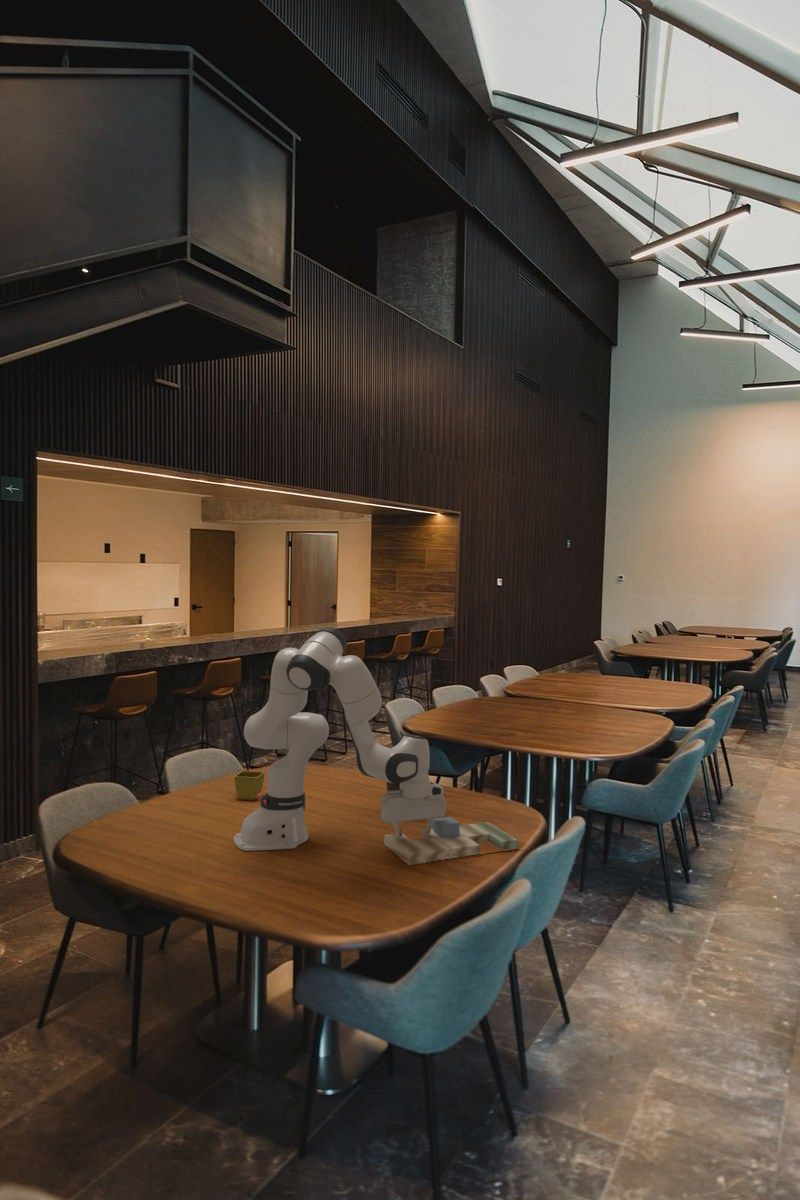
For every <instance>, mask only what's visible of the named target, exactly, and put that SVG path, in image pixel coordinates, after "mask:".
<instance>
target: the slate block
mask: <svg viewBox="0 0 800 1200" xmlns="http://www.w3.org/2000/svg"><path fill="white" fill-rule="evenodd" d="M460 825H461V823H460V822H459V821H458V820H456V819H454V818H453V817H452V816H448V817H447V816H446V817H439V818H435V822H434V823H433V825H432V827H433V828H432V829H433V832H434V833H435V834H437V835H438V836H440V837H441V838H446V837H453V836H459V832H460Z"/></svg>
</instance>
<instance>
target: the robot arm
mask: <svg viewBox="0 0 800 1200" xmlns="http://www.w3.org/2000/svg"><path fill="white" fill-rule="evenodd" d="M347 646H348V645H347V640H346V638H345V635H344V634H343V633H342V632H341V631H340V630H339V629H337V628H335V627H329V626H327V627H326V626H325V627H323V628H320V629H319V630H316V631H315V632H314V633H313V634H312V635H311V637H309V638H308V639H307V640H305V642H303V644H302V645H301V646H300V648H296V647H285V648H283V649H280V650H279V651H278V652H277V653H276V655H275V657H274V661H273V663H272V668H271V674H270V685H269V686H270V687H269V696H268V700H267V702H266V703H265V705H264V706H263V708H261V709H260V710H259V711H258V712H256V713H254V714H252V715H250V716H249V718H247V720H246V721H245V724H244V727H243V736H244V737H243V738H244V739H245V741H246V743H247V744H248V746H250V747H252V748H255V749H261V750H288V751H287V754H285V756H284V757H282V758H280V759H278V760H276V761H274V762H273V763H272V764H271V765H270V766H269V767H268V770H267V792H266V793H265V794H263V793H262V792H260V793H259V794H258V795H257V798H256V799H257V800H258V801H259V802H260V806H259V807H258V808H257V809H255V810H254V811H253V812H251V813H250V814H249V815H247V816H246V817H245V818H244V819H243V823H242V824H241V831H240V832H239V833H235V835H234V837H233V844H234V845H235V846H236V847H237V848H238V849H239V850H242V851H245V852H251V851H252V852H253V851H255V852H257V851H270V850H273V851H274V850H289V849H296V848H297V847H299V845H301V844H303V843H305V842H306V841H308V839H309V835H308V831H307V827H306V820H305V819H306V818H305V811H306V810H305V808H306V793H305V791H304V789H305V788H304V787H305V774H306V769H307V765H308V762H309V760H310V758H311V757H312V755H313V754H314V753H315V752H316V751H317V750H318V749H319V748H321V746H323V745H324V744H325V743H326V741H327V739H328V738H329V735H330V734H329V732H330V728H329V723H328V721H327V719H326V718H325V716H324V715H323V714H320V713H313V712H302V711H303V710H304V708H305V706H306V704H308V703H307V702H308V694H309V693H308V692H309V691H314V690H322V691H323V690H325V689H326V688H328V686H329V685H330V686H332V688H334V690H335V692H336V693H337V697H338V698H339V701H340V703H341V705H342V708H343V710H344V719H345V722H346V726H347V728H348V731H349V735H350V737H351V741H352V742H353V744H354V745H353V746H354V749H355V753H356V754H355V755H356V764H357V767H358V770H359V772H360V773H361V774H362V775H363V776H366V777H369V778H374V779H377V780H381V781H384V782H386V783H387V782H389V783H394V784H399V783H400V790H395V791H387V790H386V792H385V793H383V795H382V797H381V809H380V810H381V811H380V819H381V820H382V821H383V822H384V823H386V824H391V825H392V826H393V828H394V830H395V833H396V836H397V837H399V836H402V834H403V830H402V829H401V828H399V826H400V823H403V822H412V821H420V820H427V821H428V822H427V824H426V825H424V827H423V830H424V832H425V833H431V829H432V827H433V823H434V822H435V819H437V818H445V815H446V813H447V802H446V797H445V796H444V793H445V788H444V787H442V786H441V785H440V784H438V783H436V782H433V781H430V776H429V771H428V768H429V766H430V761H431V760H430V759H431V758H430V755H431V754H430V744H429V741H428V739H427V738H425V737H423V736H420V735H415V734H409V733H408V734H404V735H403V736H402V738H401V739H400V741H399V742H398V743H397V744H396V745H394V746H393V747H388V746H384V745H383V744H381V743H379V742H378V741H376V739H375V738H374V737H375V736H374V734H373V731H372V728H371V726H370V723H369V721H370V720H371V719H373V718H374V717H375V716H376V715H377V714H378V713H379V712H380V710H381V708H382V705H383V699H382V697H381V692H380V690H379V687H378V685H377V683H376V680H375V679H374V677H373V675H372V673H371V672H370V670H369V668H368V667H367V666H366V664H365V663H364V661H363V660H362V659H361V658H360V657H359V656H357V655H352V654H351V655H350V654H349V655H345V654H346V651H347Z"/></svg>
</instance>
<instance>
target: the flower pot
mask: <svg viewBox="0 0 800 1200" xmlns="http://www.w3.org/2000/svg"><path fill="white" fill-rule="evenodd" d="M264 781H265V772H264V771H252V770H242V771H240V772H238V773H237V774H235V775H234V787H235V791H236V794H237V797H239V799H240V800H241V801H242V800H243V801H254V800H256V799H258V798H257V795H258V794H259V793H262V790H263V787H264Z"/></svg>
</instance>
